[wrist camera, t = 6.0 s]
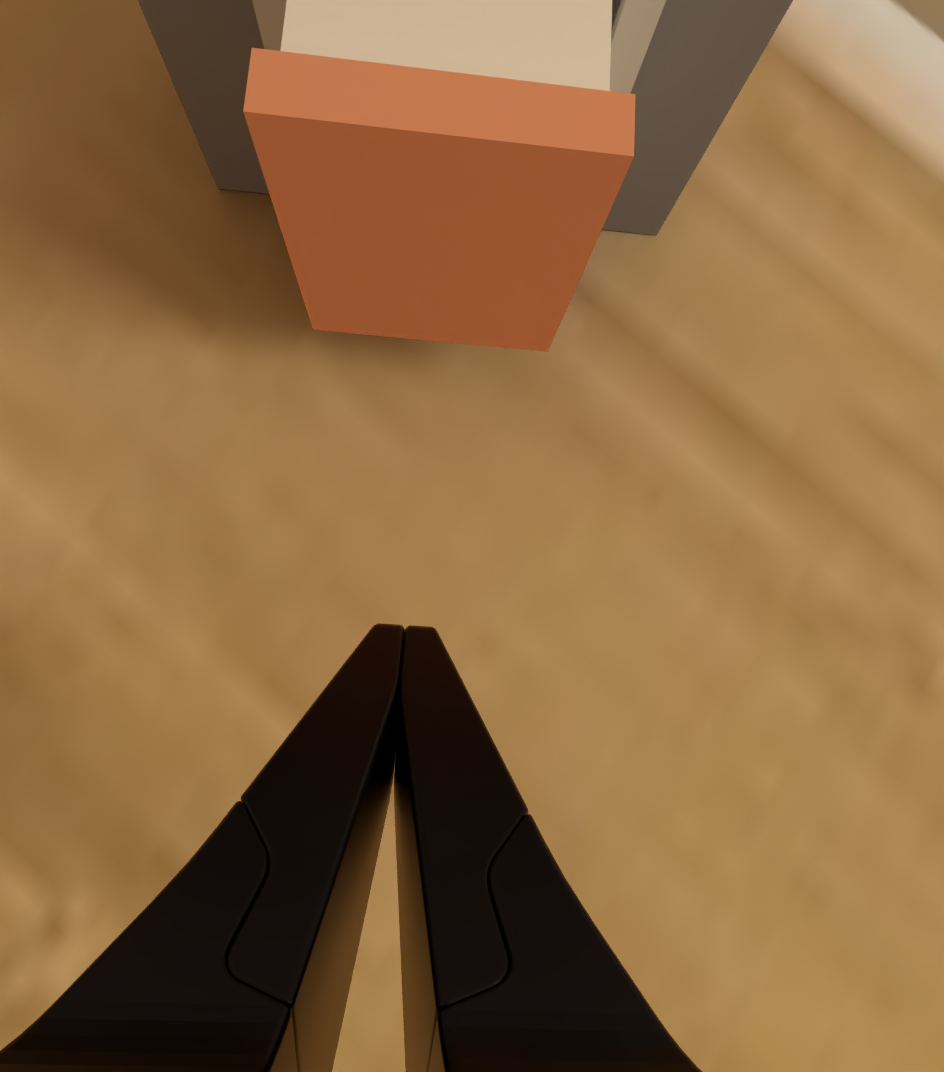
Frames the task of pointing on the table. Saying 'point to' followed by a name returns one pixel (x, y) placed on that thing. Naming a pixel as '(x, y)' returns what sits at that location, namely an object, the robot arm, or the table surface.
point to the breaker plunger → (441, 161)
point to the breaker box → (636, 67)
